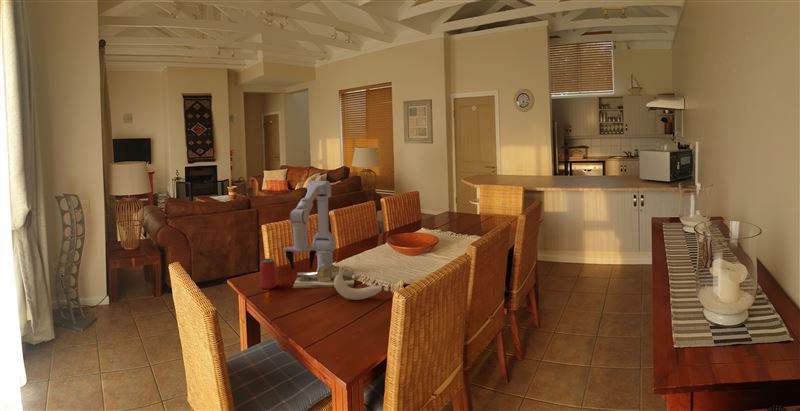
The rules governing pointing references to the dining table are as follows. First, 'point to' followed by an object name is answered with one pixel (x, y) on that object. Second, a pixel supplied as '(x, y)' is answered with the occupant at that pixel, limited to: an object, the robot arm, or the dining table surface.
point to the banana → (351, 292)
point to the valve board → (321, 283)
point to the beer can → (268, 273)
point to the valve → (327, 275)
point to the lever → (322, 269)
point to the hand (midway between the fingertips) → (302, 268)
